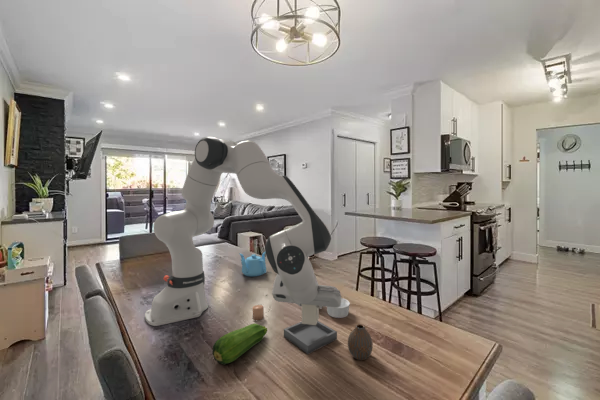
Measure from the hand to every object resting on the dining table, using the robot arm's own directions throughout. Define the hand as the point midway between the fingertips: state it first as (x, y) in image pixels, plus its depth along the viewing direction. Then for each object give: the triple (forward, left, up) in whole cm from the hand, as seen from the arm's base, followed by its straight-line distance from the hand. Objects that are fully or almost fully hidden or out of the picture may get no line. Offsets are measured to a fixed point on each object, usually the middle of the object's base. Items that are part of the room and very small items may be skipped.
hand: (310, 305), depth 90 cm
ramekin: (+18, +6, -11) cm, 22 cm away
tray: (-1, 0, -10) cm, 11 cm away
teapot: (+16, +67, -11) cm, 70 cm away
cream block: (-1, 0, -5) cm, 5 cm away
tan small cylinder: (-7, +22, -11) cm, 25 cm away
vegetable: (-20, +8, -11) cm, 24 cm away
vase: (+4, -16, -11) cm, 20 cm away
